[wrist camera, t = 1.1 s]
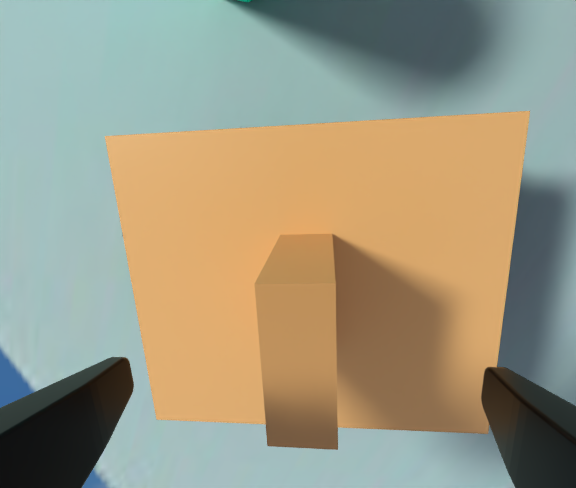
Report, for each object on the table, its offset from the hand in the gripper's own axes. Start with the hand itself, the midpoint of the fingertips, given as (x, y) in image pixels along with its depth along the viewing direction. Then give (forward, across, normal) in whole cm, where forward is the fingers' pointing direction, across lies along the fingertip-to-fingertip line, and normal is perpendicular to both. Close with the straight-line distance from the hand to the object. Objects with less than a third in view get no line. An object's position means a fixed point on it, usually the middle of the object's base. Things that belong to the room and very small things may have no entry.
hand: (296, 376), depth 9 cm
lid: (+7, 0, 0) cm, 7 cm away
